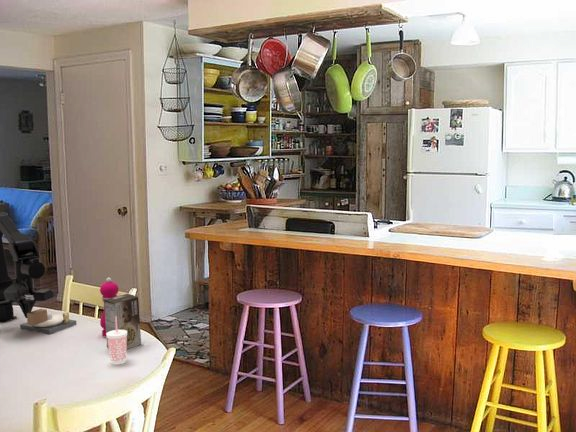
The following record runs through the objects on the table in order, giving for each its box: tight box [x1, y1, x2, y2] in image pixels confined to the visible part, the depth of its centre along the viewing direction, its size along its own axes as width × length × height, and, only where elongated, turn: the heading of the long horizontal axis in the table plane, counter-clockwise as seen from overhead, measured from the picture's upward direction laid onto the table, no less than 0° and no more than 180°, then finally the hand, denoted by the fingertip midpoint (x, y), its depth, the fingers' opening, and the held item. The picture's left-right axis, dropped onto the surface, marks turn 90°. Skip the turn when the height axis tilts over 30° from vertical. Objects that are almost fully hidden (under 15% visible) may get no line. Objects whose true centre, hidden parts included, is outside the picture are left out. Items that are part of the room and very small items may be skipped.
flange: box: [26, 308, 63, 327], centre depth 216 cm, size 11×13×5 cm
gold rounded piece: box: [62, 312, 70, 324], centre depth 216 cm, size 2×2×4 cm
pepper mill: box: [99, 277, 119, 338], centre depth 206 cm, size 7×7×20 cm
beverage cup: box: [105, 316, 128, 365], centre depth 181 cm, size 6×6×14 cm
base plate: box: [19, 318, 77, 335], centre depth 217 cm, size 15×12×2 cm
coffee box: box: [103, 293, 142, 350], centre depth 194 cm, size 9×6×16 cm
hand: (27, 317), depth 212 cm, fingers closed
